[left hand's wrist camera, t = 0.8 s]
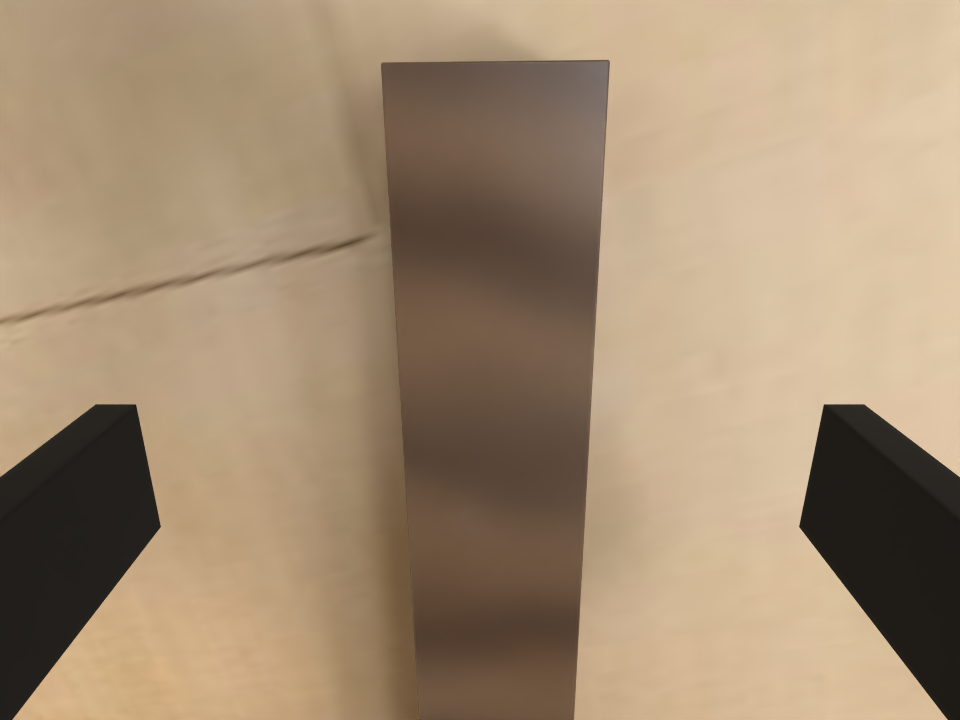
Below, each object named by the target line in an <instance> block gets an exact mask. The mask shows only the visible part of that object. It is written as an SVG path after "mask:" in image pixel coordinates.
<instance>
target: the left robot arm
mask: <svg viewBox="0 0 960 720" xmlns="http://www.w3.org/2000/svg"><path fill="white" fill-rule="evenodd" d="M160 527H161V526H160V521H159V516H158V511H157V506H156V501H155V496H154V491H153V486H152V481H151V476H150V471H149V466H148V461H147V456H146V451H145V446H144V442H143V437H142V432H141V427H140V422H139V417H138V412H137V407H136V405H95V406H93V407H92V408H91V409H89V410H88V411H87V412H85V413H84V414H83V415H81V416H80V417H79V418H77V419H76V420H75V421H74V422H72V423H71V424H70V425H68V426H67V427H66V428H64V429H63V430H62V431H60V432H59V433H58V434H56V435H55V436H54V437H53V438H51V439H50V440H49V441H47V442H46V443H45V444H43V445H42V446H41V447H39V448H38V449H37V450H35V451H34V452H33V453H31V454H30V455H29V456H28V457H26V458H25V459H24V460H22V461H21V462H20V463H18V464H17V465H16V466H14V467H13V468H12V469H10V470H9V471H8V472H7V473H5V474H4V475H3V476H1V477H0V720H12V719H13V718H14V717H15V715H16V714H17V713H18V712H19V710H20V709H21V708H22V706H23V705H24V704H25V703H26V701H27V700H28V699H29V697H30V696H31V695H32V693H33V692H34V691H35V690H36V688H37V687H38V686H39V684H40V683H41V682H42V680H43V679H44V678H45V677H46V675H47V674H48V673H49V671H50V670H51V669H52V667H53V666H54V665H55V664H56V662H57V661H58V660H59V658H60V657H61V656H62V654H63V653H64V652H65V651H66V649H67V648H68V647H69V645H70V644H71V643H72V641H73V640H74V639H75V638H76V636H77V635H78V634H79V632H80V631H81V630H82V628H83V627H84V626H85V625H86V623H87V622H88V621H89V619H90V618H91V617H92V615H93V614H94V613H95V612H96V610H97V609H98V608H99V606H100V605H101V604H102V602H103V601H104V600H105V599H106V597H107V596H108V595H109V593H110V592H111V591H112V590H113V588H114V587H115V586H116V584H117V583H118V582H119V580H120V579H121V578H122V577H123V575H124V574H125V573H126V571H127V570H128V569H129V567H130V566H131V565H132V564H133V562H134V561H135V560H136V558H137V557H138V556H139V554H140V553H141V552H142V551H143V549H144V548H145V547H146V545H147V544H148V543H149V541H150V540H151V539H152V538H153V536H154V535H155V534H156V532H157V531H158V530H159V528H160ZM799 527H800V528H801V530H802V531H803V532H804V534H805V535H806V536H807V538H808V539H809V540H810V541H811V543H812V544H813V545H814V547H815V548H816V549H817V551H818V552H819V553H820V554H821V556H822V557H823V558H824V560H825V561H826V562H827V564H828V565H829V566H830V567H831V569H832V570H833V571H834V573H835V574H836V575H837V577H838V578H839V579H840V580H841V582H842V583H843V584H844V586H845V587H846V588H847V590H848V591H849V592H850V593H851V595H852V596H853V597H854V599H855V600H856V601H857V602H858V604H859V605H860V606H861V608H862V609H863V610H864V612H865V613H866V614H867V615H868V617H869V618H870V619H871V621H872V622H873V623H874V625H875V626H876V627H877V628H878V630H879V631H880V632H881V634H882V635H883V636H884V638H885V639H886V640H887V641H888V643H889V644H890V645H891V647H892V648H893V649H894V651H895V652H896V653H897V654H898V656H899V657H900V658H901V660H902V661H903V662H904V664H905V665H906V666H907V667H908V669H909V670H910V671H911V673H912V674H913V675H914V677H915V678H916V679H917V680H918V682H919V683H920V684H921V686H922V687H923V688H924V690H925V691H926V692H927V693H928V695H929V696H930V697H931V699H932V700H933V701H934V703H935V704H936V705H937V706H938V708H939V709H940V710H941V712H942V713H943V714H944V715H945V717H946V718H947V719H948V720H960V477H959V476H957V475H956V474H955V473H953V472H952V471H951V470H950V469H948V468H947V467H946V466H944V465H943V464H942V463H940V462H939V461H938V460H936V459H935V458H934V457H932V456H931V455H930V454H929V453H927V452H926V451H925V450H923V449H922V448H921V447H919V446H918V445H917V444H915V443H914V442H913V441H911V440H910V439H909V438H907V437H906V436H905V435H904V434H902V433H901V432H900V431H898V430H897V429H896V428H894V427H893V426H892V425H890V424H889V423H888V422H886V421H885V420H884V419H883V418H881V417H880V416H879V415H877V414H876V413H875V412H873V411H872V410H871V409H869V408H868V407H867V406H865V405H824V407H823V412H822V417H821V422H820V427H819V432H818V437H817V442H816V446H815V451H814V456H813V461H812V466H811V471H810V476H809V481H808V486H807V491H806V496H805V501H804V506H803V511H802V516H801V521H800V526H799Z"/></svg>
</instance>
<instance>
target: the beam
mask: <svg viewBox="0 0 960 720" xmlns="http://www.w3.org/2000/svg"><path fill="white" fill-rule="evenodd" d="M609 66H610V62H609V60H567V61H481V62H394V63H381V73H382V90H383V107H384V124H385V141H386V158H387V175H388V192H389V209H390V226H391V244H392V261H393V278H394V295H395V312H396V329H397V346H398V363H399V380H400V397H401V414H402V431H403V449H404V466H405V483H406V500H407V517H408V534H409V551H410V568H411V585H412V602H413V619H414V637H415V654H416V671H417V688H418V705H419V720H574V709H575V690H576V672H577V654H578V635H579V617H580V598H581V580H582V562H583V543H584V525H585V507H586V488H587V470H588V451H589V433H590V415H591V396H592V378H593V360H594V341H595V323H596V304H597V286H598V268H599V249H600V231H601V213H602V194H603V176H604V157H605V139H606V121H607V102H608V84H609Z"/></svg>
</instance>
